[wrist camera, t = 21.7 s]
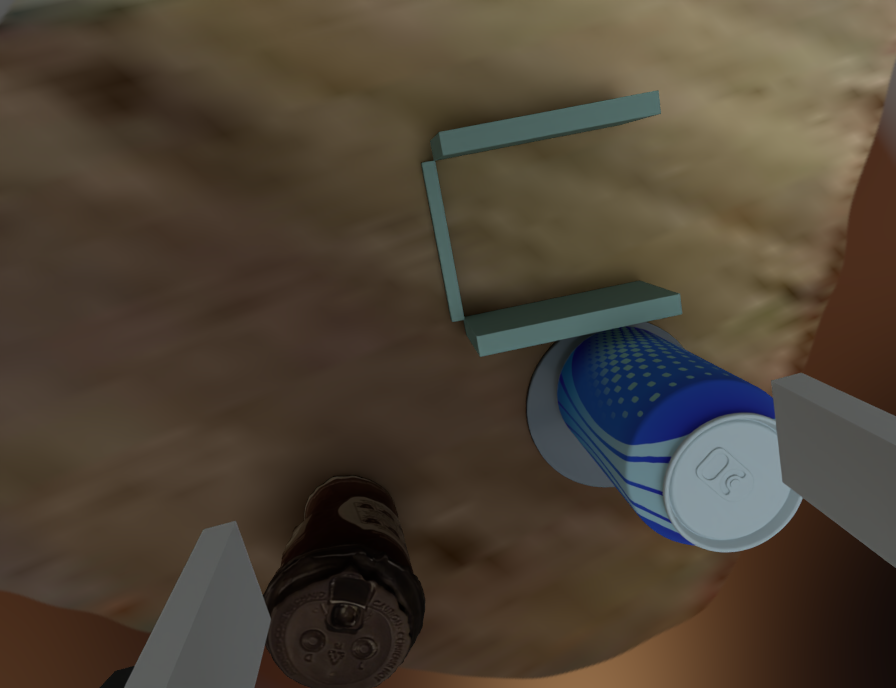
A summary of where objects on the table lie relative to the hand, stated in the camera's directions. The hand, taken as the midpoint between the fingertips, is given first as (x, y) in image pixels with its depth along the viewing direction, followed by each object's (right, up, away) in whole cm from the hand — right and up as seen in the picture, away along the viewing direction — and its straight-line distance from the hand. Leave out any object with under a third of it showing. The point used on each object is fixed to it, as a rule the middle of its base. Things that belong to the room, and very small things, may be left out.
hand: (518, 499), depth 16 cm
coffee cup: (-8, -8, +30) cm, 32 cm away
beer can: (+9, +1, +29) cm, 31 cm away
